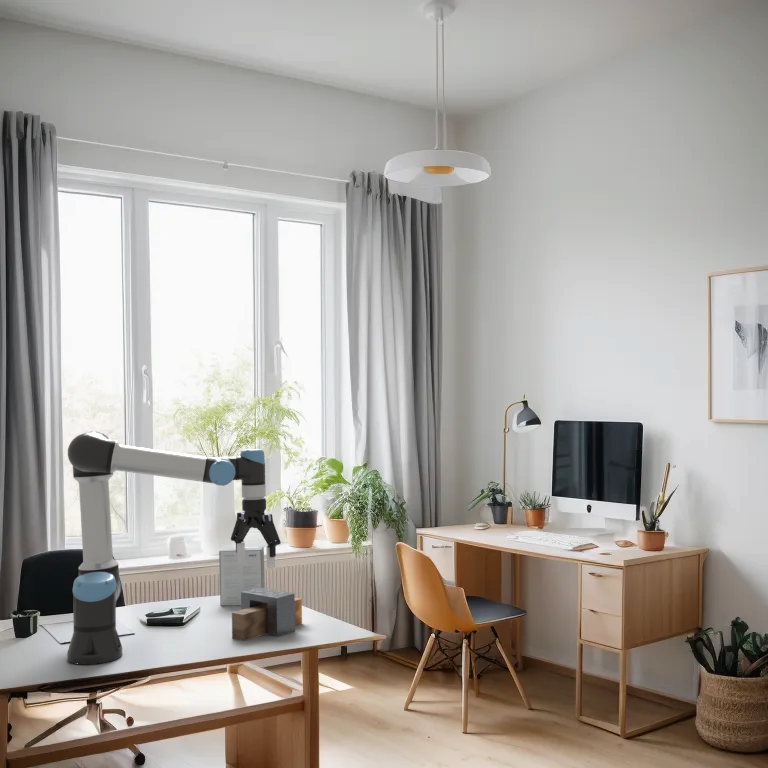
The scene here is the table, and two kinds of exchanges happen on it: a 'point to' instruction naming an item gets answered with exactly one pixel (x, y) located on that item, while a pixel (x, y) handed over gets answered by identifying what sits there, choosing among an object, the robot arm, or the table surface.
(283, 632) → the socket housing
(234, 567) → the hard drive box
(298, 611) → the bar
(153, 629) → the table surface
